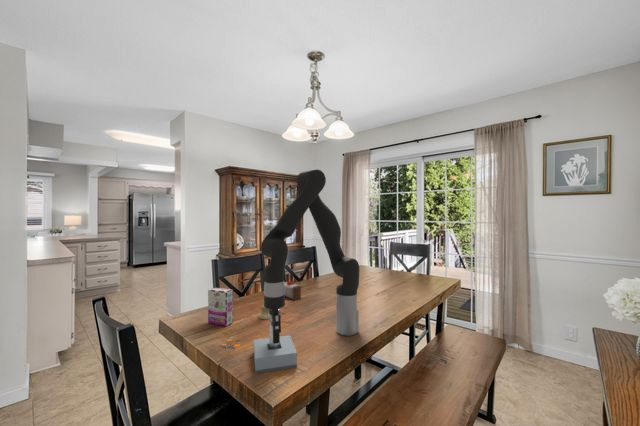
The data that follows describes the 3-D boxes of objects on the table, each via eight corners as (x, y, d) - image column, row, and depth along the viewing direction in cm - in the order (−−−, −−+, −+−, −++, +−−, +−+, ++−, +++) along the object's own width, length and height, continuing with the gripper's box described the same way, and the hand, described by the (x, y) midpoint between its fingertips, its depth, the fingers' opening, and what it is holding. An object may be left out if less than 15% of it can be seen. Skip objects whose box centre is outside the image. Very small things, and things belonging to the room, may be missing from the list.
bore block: (290, 347, 110) (290, 335, 110) (297, 367, 96) (297, 352, 96) (253, 352, 106) (253, 339, 106) (255, 373, 92) (255, 358, 92)
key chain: (244, 348, 110) (244, 346, 110) (225, 354, 106) (225, 351, 106) (233, 336, 120) (233, 334, 120) (216, 341, 116) (216, 339, 116)
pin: (278, 353, 103) (278, 321, 103) (279, 358, 100) (280, 325, 100) (268, 355, 102) (268, 322, 102) (269, 360, 99) (269, 326, 99)
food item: (279, 295, 177) (279, 280, 177) (289, 293, 183) (289, 278, 183) (292, 300, 167) (292, 284, 167) (303, 298, 173) (303, 282, 173)
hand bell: (277, 316, 143) (277, 285, 143) (264, 320, 137) (264, 288, 137) (268, 312, 149) (268, 282, 148) (254, 316, 142) (254, 285, 142)
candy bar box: (233, 323, 134) (233, 289, 134) (226, 327, 129) (226, 292, 129) (215, 319, 138) (215, 286, 138) (207, 323, 133) (207, 289, 133)
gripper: (288, 298, 95) (288, 345, 95) (281, 287, 109) (282, 328, 109) (265, 300, 93) (266, 348, 93) (262, 288, 107) (262, 330, 107)
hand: (274, 337), depth 101 cm, fingers open, 8 cm apart
